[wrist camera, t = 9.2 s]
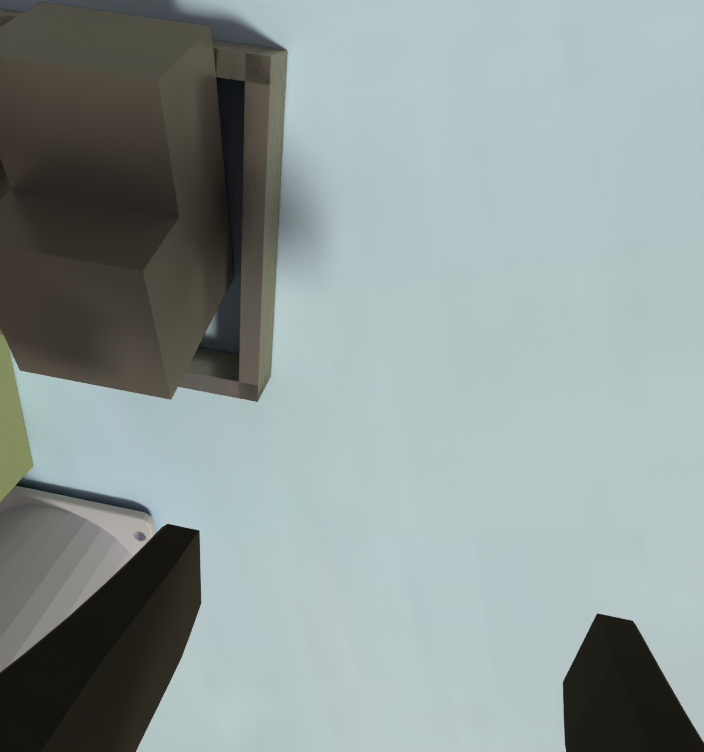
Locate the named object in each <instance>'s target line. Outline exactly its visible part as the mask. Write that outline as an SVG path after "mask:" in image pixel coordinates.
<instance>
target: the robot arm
mask: <svg viewBox="0 0 704 752" xmlns="http://www.w3.org/2000/svg"><path fill="white" fill-rule="evenodd" d="M141 532H142V533H141ZM200 605H201V578H200V536H199V530H194V529H189V528H184V527H180V526H175V525H170V524H167V525H165V526H163V527H162V528H161V529H160V530H159V531H158V532H157V533H155V523H154V520H153V518H152V517H151V516H150V515H148V514H147V513H144V512H141V511H136V510H131V509H126V508H121V507H117V506H112V505H107V504H102V503H97V502H92V501H88V500H83V499H78V498H73V497H68V496H64V495H59V494H54V493H49V492H44V491H39V490H35V489H30V488H25V487H20V486H14V487H13V489H12V490H11V491H10V492H9V493H8V494H7V495H6V496H5V497H4V498H3V499H2V501H1V502H0V752H136V750H137V748H138V746H139V744H140V742H141V740H142V738H143V736H144V734H145V732H146V729H147V727H148V725H149V723H150V721H151V719H152V717H153V715H154V713H155V711H156V709H157V707H158V705H159V703H160V701H161V699H162V697H163V695H164V693H165V691H166V689H167V687H168V685H169V682H170V680H171V678H172V676H173V674H174V672H175V670H176V668H177V666H178V664H179V662H180V660H181V657H182V655H183V652H184V649H185V647H186V644H187V641H188V639H189V636H190V633H191V630H192V628H193V625H194V622H195V619H196V616H197V613H198V611H199V608H200ZM563 701H564V729H565V746H566V752H704V742H703V741H702V739H701V737H700V736H699V734H698V733H697V731H696V729H695V728H694V726H693V724H692V723H691V721H690V719H689V718H688V716H687V714H686V713H685V711H684V709H683V707H682V706H681V704H680V702H679V701H678V699H677V697H676V695H675V694H674V692H673V690H672V688H671V687H670V685H669V683H668V681H667V680H666V678H665V676H664V674H663V673H662V671H661V669H660V667H659V666H658V664H657V662H656V660H655V658H654V657H653V655H652V653H651V651H650V649H649V648H648V646H647V644H646V642H645V640H644V639H643V637H642V635H641V633H640V632H639V630H638V628H637V626H636V625H635V623H634V622H633V621H631V620H626V619H621V618H616V617H612V616H607V615H602V614H597V615H596V617H595V619H594V621H593V623H592V625H591V627H590V629H589V631H588V633H587V635H586V637H585V639H584V641H583V643H582V645H581V647H580V649H579V651H578V653H577V655H576V657H575V659H574V661H573V663H572V665H571V667H570V669H569V671H568V673H567V675H566V677H565V679H564V681H563Z"/></svg>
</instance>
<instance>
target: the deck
mask: <svg viewBox="0 0 704 752" xmlns="http://www.w3.org/2000/svg"><path fill="white" fill-rule="evenodd" d="M32 467H33V463H32V458H31V453H30V448H29V444H28V439H27V434H26V429H25V424H24V419H23V415H22V410H21V405H20V400H19V395H18V390H17V385H16V381H15V376H14V371H13V366H12V361H11V356H10V351H9V347H8V344H7V341H6V339H5V337H4V335H0V502H1V501H2V499H3V498H4V497H5V496H6V495H7V494H8V493H9V492H10V491H11V490H12V489H13V487H14V486H15V485H16V484H17V483H18V482H19V481H20V480H21V479H22V478H23V477H24V475H25V474H26V473H27V472H28V471H29V470H30V469H31V468H32Z"/></svg>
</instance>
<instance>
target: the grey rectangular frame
mask: <svg viewBox="0 0 704 752" xmlns="http://www.w3.org/2000/svg"><path fill="white" fill-rule="evenodd" d="M22 13H23V12H16V11H9V10H3V9H0V27H1V26H3V25H4V24H6V23H7V22H9V21H11V20H12V19H14V18H16V17H17V16H19V15H20V14H22ZM213 49H214V60H215V72H216V77H219V78H226V79H233V80H239V81H245V102H244V153H243V204H242V255H241V305H240V355H237V354H231V353H226V352H220V351H215V350H210V349H204V348H199V347H198V348H197V350H196V352H195V354H194V356H193V358H192V360H191V362H190V364H189V366H188V368H187V370H186V372H185V374H184V375H183V377H182V379H181V381H180V383H179V385H178V387H183V388H188V389H193V390H198V391H204V392H209V393H214V394H219V395H225V396H230V397H235V398H240V399H246V400H251V401H256V402H258V400H259V398H260V396H261V394H262V392H263V390H264V388H265V387H266V385H267V383H268V381H269V379H270V377H271V362H272V342H273V323H274V303H275V284H276V264H277V245H278V226H279V206H280V187H281V167H282V148H283V128H284V109H285V89H286V70H287V51H286V50H279V49H272V48H265V47H258V46H251V45H245V44H238V43H231V42H224V41H217V40H213ZM10 190H11V186H10V183H9V181H8V178H7V175H6V172H5V170H4V167H3V164H2V162H1V159H0V199H2V198H3V197H4V196H5V195H6V194H7V193H8V192H9V191H10ZM0 335H3V333H2V331H1V328H0Z"/></svg>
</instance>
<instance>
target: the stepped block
mask: <svg viewBox="0 0 704 752" xmlns="http://www.w3.org/2000/svg"><path fill="white" fill-rule="evenodd" d="M0 159H1V162H2V164H3V167H4V170H5V172H6V175H7V178H8V181H9V183H10V186H11V190H10V191H9V192H8V193H7V194H6V195H5V196H4V197H3V198H2V199H0V328H1V331H2V333H3V335H4V337H5V339H6V341H7V344H8V346H9V348H10V350H11V352H12V354H13V356H14V359H15V361H16V363H17V365H18V367H19V369H20V371H25V372H30V373H36V374H41V375H46V376H51V377H57V378H62V379H67V380H72V381H77V382H83V383H88V384H93V385H98V386H103V387H109V388H114V389H119V390H124V391H130V392H135V393H140V394H145V395H150V396H156V397H161V398H166V399H172V397H173V395H174V393H175V391H176V389H177V387H178V385H179V383H180V381H181V379H182V377H183V375H184V374H185V372H186V370H187V368H188V366H189V364H190V362H191V360H192V358H193V356H194V354H195V352H196V350H197V348H198V346H199V344H200V342H201V340H202V338H203V336H204V334H205V332H206V330H207V329H208V327H209V325H210V323H211V321H212V319H213V317H214V315H215V313H216V311H217V309H218V307H219V305H220V303H221V301H222V299H223V297H224V295H225V293H226V291H227V289H228V287H229V285H230V284H231V282H232V280H233V278H234V272H233V261H232V250H231V239H230V228H229V217H228V205H227V194H226V183H225V172H224V161H223V150H222V139H221V127H220V116H219V105H218V94H217V83H216V72H215V60H214V49H213V38H212V27H211V26H206V25H199V24H192V23H185V22H178V21H171V20H164V19H157V18H150V17H143V16H136V15H129V14H122V13H115V12H108V11H101V10H94V9H87V8H80V7H73V6H66V5H59V4H52V3H45V2H40V3H38V4H37V5H35V6H33V7H32V8H30V9H29V10H27V11H25V12H24V13H22V14H20V15H19V16H17V17H16V18H14V19H12V20H11V21H9V22H7V23H6V24H4V25H3V26H1V27H0Z"/></svg>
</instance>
